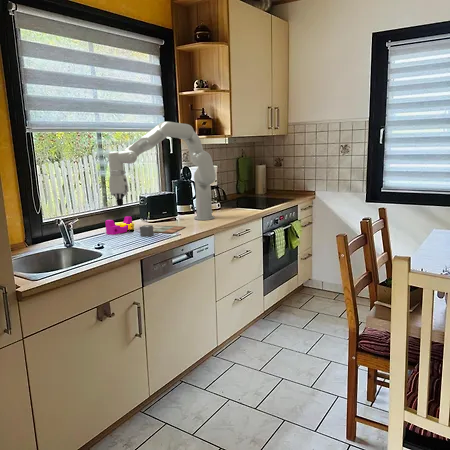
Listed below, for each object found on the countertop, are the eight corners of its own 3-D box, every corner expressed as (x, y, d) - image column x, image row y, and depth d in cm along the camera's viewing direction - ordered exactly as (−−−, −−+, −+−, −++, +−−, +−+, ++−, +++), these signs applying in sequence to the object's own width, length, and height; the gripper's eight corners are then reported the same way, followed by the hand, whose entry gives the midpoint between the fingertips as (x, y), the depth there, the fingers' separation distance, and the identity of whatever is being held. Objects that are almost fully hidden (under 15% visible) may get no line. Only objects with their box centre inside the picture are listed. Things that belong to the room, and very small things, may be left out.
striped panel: (157, 226, 246) (156, 225, 246) (185, 227, 240) (185, 226, 240) (141, 232, 231) (141, 231, 231) (172, 234, 224) (171, 232, 224)
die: (145, 234, 227) (144, 224, 226) (153, 234, 225) (152, 225, 224) (140, 236, 222) (139, 226, 221) (148, 236, 220) (148, 227, 219)
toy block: (113, 235, 228) (112, 221, 226) (106, 233, 232) (105, 220, 230) (135, 230, 239) (134, 217, 238) (128, 229, 243) (127, 216, 241)
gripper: (132, 172, 240) (135, 204, 243) (109, 172, 245) (113, 204, 249) (124, 173, 233) (127, 206, 237) (102, 174, 238) (105, 206, 242)
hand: (120, 205), depth 243 cm, fingers closed
